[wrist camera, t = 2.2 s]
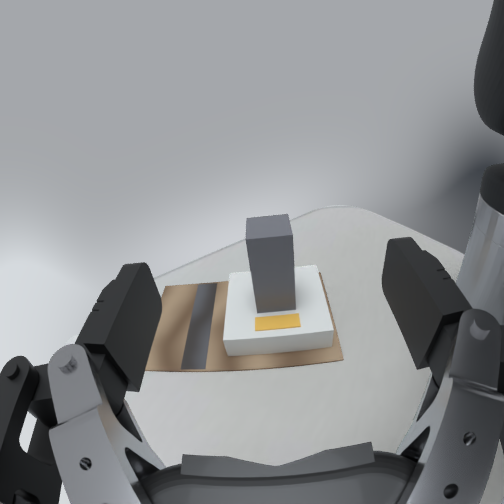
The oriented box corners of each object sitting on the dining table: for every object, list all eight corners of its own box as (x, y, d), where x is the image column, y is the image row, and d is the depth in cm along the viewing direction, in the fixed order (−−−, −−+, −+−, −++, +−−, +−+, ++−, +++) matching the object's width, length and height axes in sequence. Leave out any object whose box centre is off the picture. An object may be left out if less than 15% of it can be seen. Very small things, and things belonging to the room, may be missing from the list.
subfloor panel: (320, 275, 43) (320, 272, 43) (342, 362, 30) (343, 359, 30) (166, 289, 45) (165, 285, 45) (140, 372, 32) (138, 369, 31)
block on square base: (315, 281, 42) (315, 197, 34) (331, 346, 32) (340, 252, 24) (233, 289, 42) (216, 207, 35) (227, 356, 32) (201, 266, 25)
